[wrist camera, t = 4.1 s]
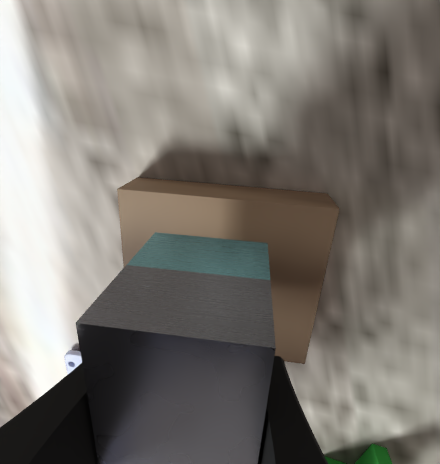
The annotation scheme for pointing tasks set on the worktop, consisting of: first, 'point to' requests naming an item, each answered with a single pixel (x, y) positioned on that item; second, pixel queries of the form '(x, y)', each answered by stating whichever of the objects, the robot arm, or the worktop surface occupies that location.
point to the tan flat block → (245, 238)
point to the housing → (181, 353)
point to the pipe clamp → (369, 456)
